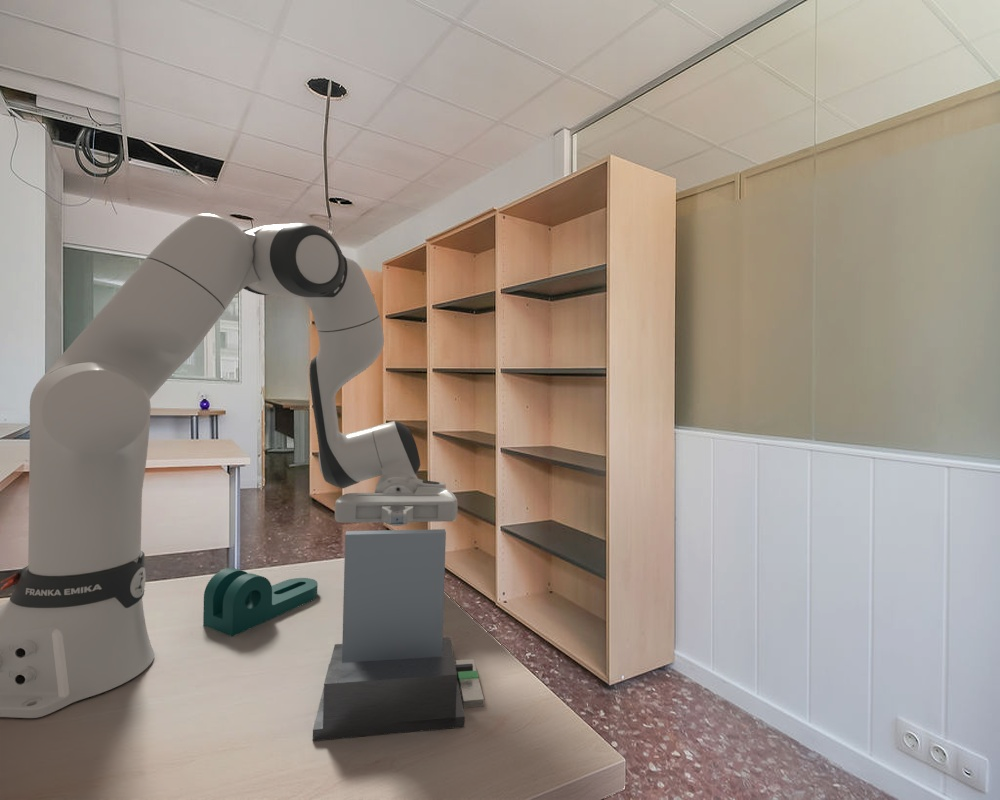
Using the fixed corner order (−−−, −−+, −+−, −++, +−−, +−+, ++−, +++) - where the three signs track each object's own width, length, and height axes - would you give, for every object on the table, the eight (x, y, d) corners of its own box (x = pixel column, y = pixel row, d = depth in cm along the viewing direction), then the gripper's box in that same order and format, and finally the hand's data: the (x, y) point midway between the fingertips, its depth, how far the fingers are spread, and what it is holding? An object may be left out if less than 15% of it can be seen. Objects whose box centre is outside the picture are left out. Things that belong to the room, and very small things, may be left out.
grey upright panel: (341, 682, 62) (345, 534, 62) (342, 675, 64) (346, 531, 63) (473, 673, 65) (477, 532, 65) (471, 667, 67) (476, 528, 66)
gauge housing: (312, 741, 54) (313, 684, 54) (334, 652, 72) (335, 610, 72) (488, 725, 58) (490, 672, 58) (468, 644, 75) (469, 604, 75)
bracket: (232, 638, 76) (233, 584, 75) (203, 626, 79) (204, 575, 78) (325, 595, 92) (326, 551, 91) (298, 587, 95) (299, 544, 94)
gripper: (339, 482, 93) (328, 499, 79) (453, 482, 96) (461, 499, 83) (338, 517, 93) (327, 540, 79) (452, 516, 97) (460, 538, 83)
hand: (397, 519), depth 81 cm, fingers closed
